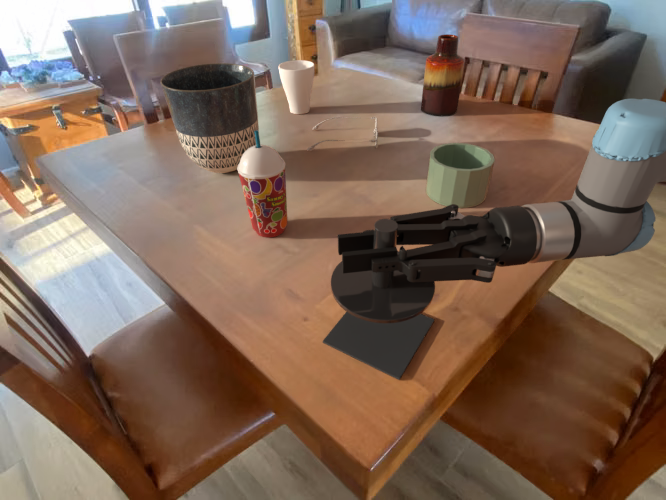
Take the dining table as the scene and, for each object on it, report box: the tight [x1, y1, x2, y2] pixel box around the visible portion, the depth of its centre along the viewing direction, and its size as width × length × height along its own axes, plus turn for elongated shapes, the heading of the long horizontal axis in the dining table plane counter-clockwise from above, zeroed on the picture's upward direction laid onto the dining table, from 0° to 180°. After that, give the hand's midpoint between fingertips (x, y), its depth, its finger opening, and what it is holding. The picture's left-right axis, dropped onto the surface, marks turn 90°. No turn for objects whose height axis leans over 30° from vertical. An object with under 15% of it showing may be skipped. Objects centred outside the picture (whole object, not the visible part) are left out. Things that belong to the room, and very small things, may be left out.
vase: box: [420, 33, 466, 117], centre depth 123 cm, size 11×11×20 cm
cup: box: [277, 59, 315, 115], centre depth 128 cm, size 10×10×14 cm
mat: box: [322, 311, 435, 381], centre depth 62 cm, size 12×12×1 cm
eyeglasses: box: [306, 116, 379, 152], centre depth 113 cm, size 15×18×4 cm
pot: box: [425, 142, 496, 209], centre depth 89 cm, size 13×13×8 cm
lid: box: [330, 218, 436, 323], centre depth 53 cm, size 14×14×10 cm
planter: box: [159, 62, 260, 174], centre depth 97 cm, size 20×20×21 cm
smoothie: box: [236, 130, 288, 238], centre depth 77 cm, size 8×8×20 cm
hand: (340, 253), depth 52 cm, fingers closed on lid, 3 cm apart
